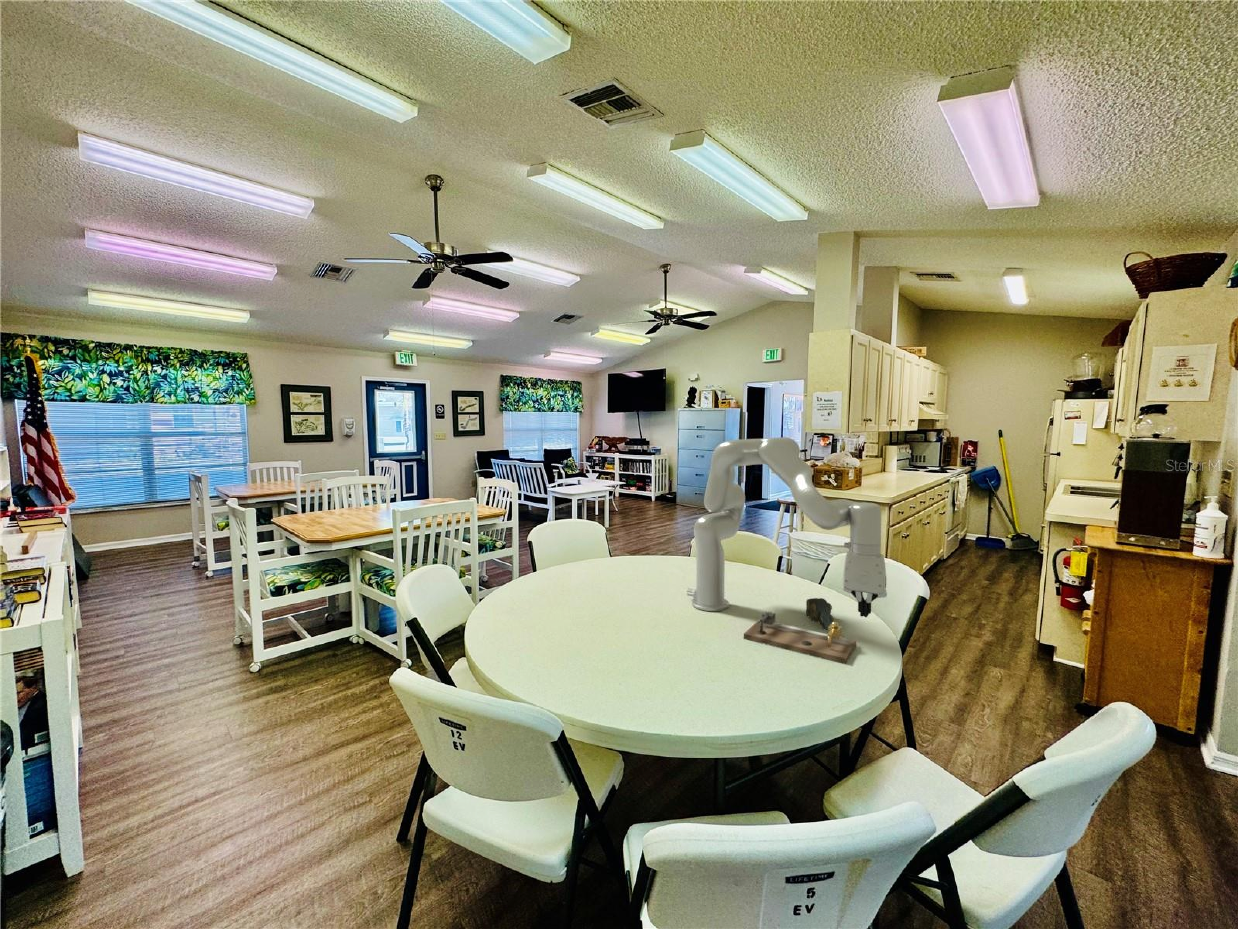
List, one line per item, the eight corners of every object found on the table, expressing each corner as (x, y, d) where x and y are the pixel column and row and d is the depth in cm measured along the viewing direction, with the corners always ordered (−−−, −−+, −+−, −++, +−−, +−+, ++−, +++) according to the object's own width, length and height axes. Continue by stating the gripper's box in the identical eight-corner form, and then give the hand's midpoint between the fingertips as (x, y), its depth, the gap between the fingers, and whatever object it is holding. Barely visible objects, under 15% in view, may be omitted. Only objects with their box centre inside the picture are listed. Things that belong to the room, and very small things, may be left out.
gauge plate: (743, 638, 151) (743, 621, 150) (759, 624, 161) (759, 607, 161) (845, 664, 134) (846, 644, 134) (856, 646, 145) (856, 628, 145)
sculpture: (839, 631, 155) (839, 609, 155) (817, 631, 156) (817, 608, 155) (824, 615, 168) (825, 594, 168) (804, 615, 169) (805, 594, 168)
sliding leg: (823, 645, 141) (823, 629, 140) (830, 635, 147) (830, 620, 147) (834, 648, 139) (835, 631, 138) (841, 638, 145) (841, 622, 145)
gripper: (832, 548, 140) (832, 614, 141) (894, 555, 131) (893, 625, 132) (839, 543, 146) (838, 606, 147) (898, 549, 137) (897, 616, 138)
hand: (864, 615), depth 140 cm, fingers closed
